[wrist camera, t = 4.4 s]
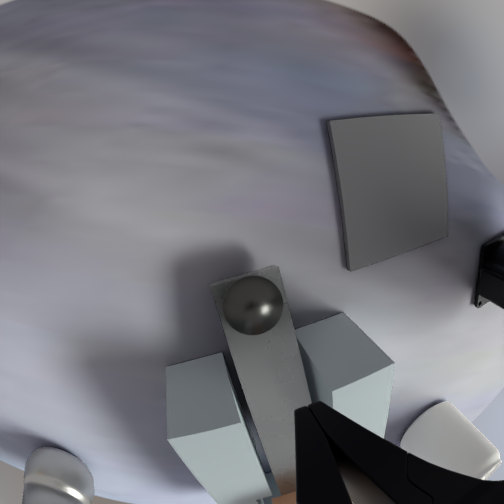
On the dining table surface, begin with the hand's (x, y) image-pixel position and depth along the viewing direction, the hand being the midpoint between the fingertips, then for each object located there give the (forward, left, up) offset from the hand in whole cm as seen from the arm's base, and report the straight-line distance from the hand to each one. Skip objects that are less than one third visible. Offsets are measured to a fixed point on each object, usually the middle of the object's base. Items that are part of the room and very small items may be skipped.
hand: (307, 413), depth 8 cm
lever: (0, +9, -6) cm, 11 cm away
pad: (-11, -3, -10) cm, 15 cm away
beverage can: (-17, +26, -10) cm, 32 cm away
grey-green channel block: (0, +13, -10) cm, 16 cm away
